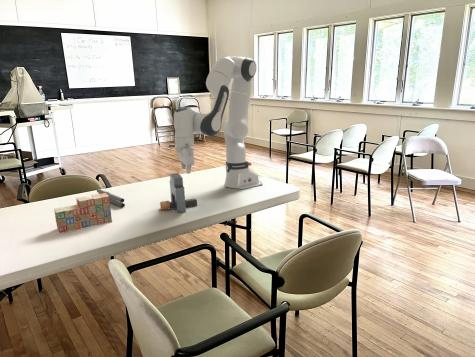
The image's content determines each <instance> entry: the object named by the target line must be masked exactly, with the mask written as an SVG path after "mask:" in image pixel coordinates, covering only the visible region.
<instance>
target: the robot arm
mask: <svg viewBox="0 0 475 357" xmlns="http://www.w3.org/2000/svg"><path fill="white" fill-rule="evenodd" d="M256 72H257V64H256V61H255V60H254V59H253V58H250V57H247V56H246V57H245V56H239V55H236V56H233V55H229V56H228V55H224V56H220V57H219V58H218V59H217V61H215V63H214V64H213V66H212V67H211V69H210V71H209V73H208V75H207V77H206V81H205V86H206V89H207V90H208V92H209V93H211V94H212V95H213V96H215V97H214V100H213V104H212V108H211V110H210V111H209V112H208V113H199V112H197V111H195V110H193V109H192V107H191V106H181V107H178V108H176V109H175V110H174V113H173V128H174V131H175V132H174V140H173V141H174V146H175V149H176V150H175V151H176V156H177V158H178V160H180V165H181V169H182V170H185V173H186V174H188V175H189V174H191V172H192V166H194V165H195V156H194V155H195V154H194V149H193V147H194V146H195V137H194V136H195V134H200V135H205V136H208V137H214V136H216V135H217V134H219V132H220V131H221V128H222V122H223V121H222V120H223V117H224V113H225V110H226V107H227V104H228V117H227V119H225V121H224V122H223V135H224V143H225V155H226V156H225V157H226V158H225V159H226V160H225V172H226V173H225V180H224V181H225V182H224V187H226V188H230V189H239V190H245V189H248V188H254V187H259V186H263V185H264V183H263V181H262V180H261V179H260V178H259V175H258V173H257V172H256V171H255V170H254V169H252V168H251V166H252V162H250V161H247V160H246V145H245V141H244V140H245V139H244V138H245V137H246V136H247V135H248V133H249V126H248V125H249V108H250V107H249V106H250V100H251V94H252V79H253V78H254V76H255V74H256ZM232 79H233V80H232ZM231 80H232V83H231ZM230 83H231V88H230V89H229V86H230ZM228 101H229V102H228Z"/></svg>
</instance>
